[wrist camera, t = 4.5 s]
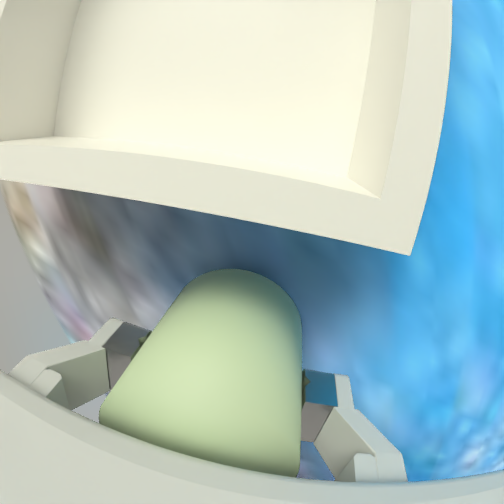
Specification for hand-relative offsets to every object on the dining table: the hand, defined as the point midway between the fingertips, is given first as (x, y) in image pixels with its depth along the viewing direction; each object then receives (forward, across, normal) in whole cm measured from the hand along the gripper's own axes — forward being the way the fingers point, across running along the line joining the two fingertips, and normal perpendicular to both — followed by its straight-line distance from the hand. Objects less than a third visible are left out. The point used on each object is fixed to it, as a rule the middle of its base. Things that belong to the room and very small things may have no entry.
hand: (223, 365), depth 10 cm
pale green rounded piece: (+2, 0, 0) cm, 2 cm away
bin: (+3, +3, -12) cm, 13 cm away
